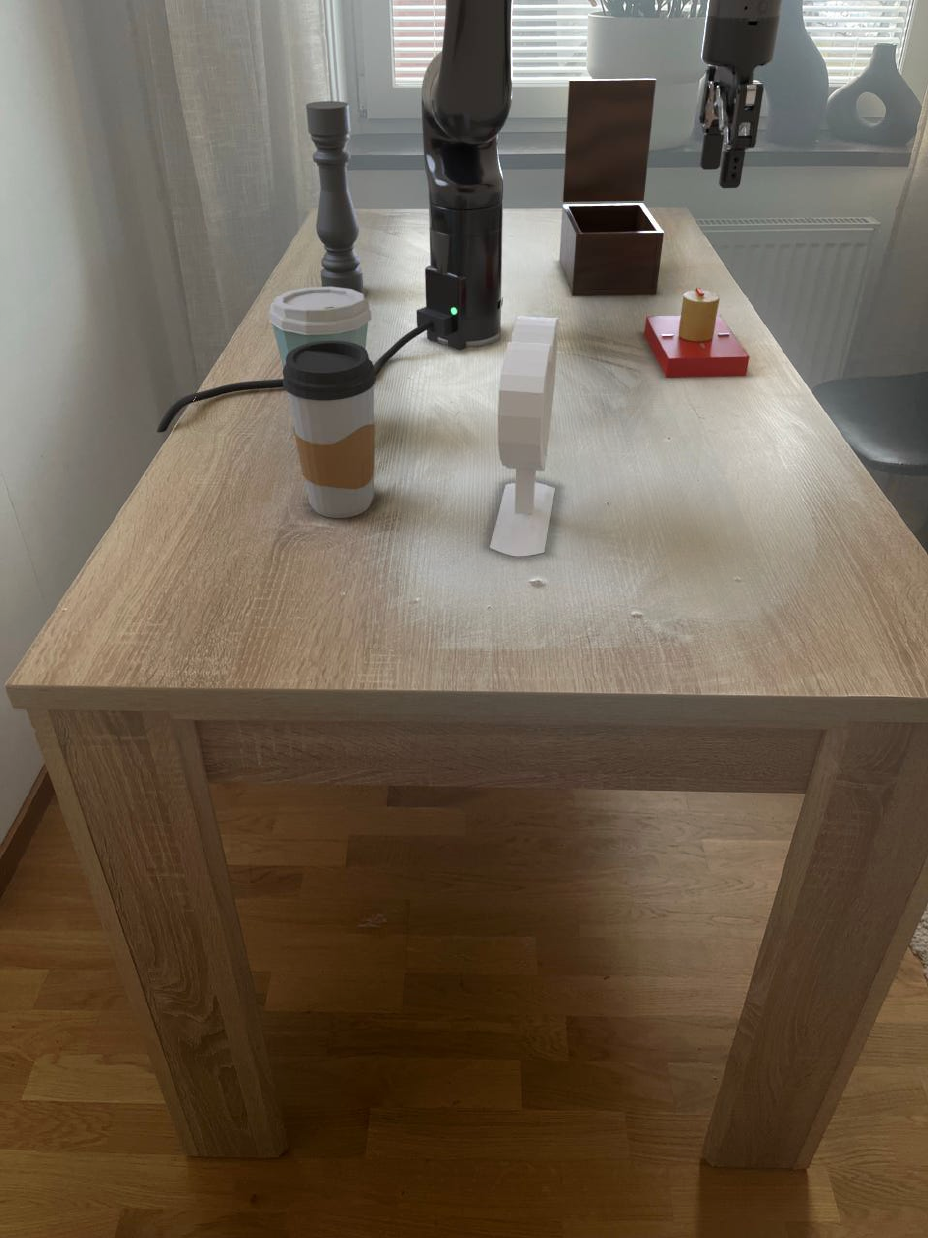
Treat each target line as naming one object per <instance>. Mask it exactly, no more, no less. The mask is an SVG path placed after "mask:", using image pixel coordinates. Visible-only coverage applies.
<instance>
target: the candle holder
mask: <svg viewBox="0 0 928 1238" xmlns="http://www.w3.org/2000/svg"><path fill="white" fill-rule="evenodd" d="M305 109H306V110H305V111H306V119H307V130H308V134H310V138H311V141H312V142H313V143H314V147H315V148H316V150H315V152H314V153H313V154H312V160H313V162H314V163H315V164H316V166H317V167H318V175H319V186H320V191H319V197H318V208H317V217H316V225H315V229H316V234H317V236H318V238H319V240H320V242H321V243H322V244H323V248H324V249H323V250H325V251H326V252H325V253H324V254H323V257H322V258H321V260H320V263H321V267H322V269H321V270H320V280H321V287H338V288H346V289H352V290H355V291H357V292H360V293H362V294H364V295H365V289H364V288H365V287H364V275H363V268H361V267H360V266H359V265H360V264H361V260H360V257H359V256H358V255H357V253H356V252H355V250H354V248H355V242H356V241H357V239H358V237H359V234H360V224H359V221H358V218H357V214H356V211H355V208H354V205H353V200H352V197H351V194H350V190H349V184H348V183H349V181H348V169H347V166H348V162H350V161H351V158H352V157H351V153H350V152H349V151H348V150H346V146H347V143H348V141H349V139H350V135H349V133H350V132H351V120H350V119H351V118H350V105H349V103H348V102H345V101H338V100H323V101H321V100H320V101H314V102H309V103H307V104H305Z"/></svg>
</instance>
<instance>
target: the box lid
mask: <svg viewBox="0 0 928 1238" xmlns="http://www.w3.org/2000/svg"><path fill="white" fill-rule="evenodd" d="M656 89H657V79H656V78H614V79H611V78H610V79H609V78H608V79H569V80H568V91H567V110H566V112H567V113H566V126H565V127H566V130H565V147H564V150H565V151H564V162H563V182H562V183H563V184H562V185H563V186H562V202H563V203H597V202H599V203H602V202H644V200H645V193H646V184H647V173H648V165H649V164H648V163H649V156H650V155H649V153H650V145H651V144H650V143H651V134H652V127H653V126H652V125H653V116H654V108H655V107H654V106H655V96H656Z"/></svg>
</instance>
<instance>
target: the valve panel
mask: <svg viewBox="0 0 928 1238" xmlns="http://www.w3.org/2000/svg"><path fill="white" fill-rule="evenodd" d="M680 317H681V315H659V316H658V315H657V316H655V315H653V316H645V323H644V329H643V330H644V331H643V336H644V337H645V339H646V342H647V343H648V345H649V347H650V349H651V351H652V353H653V355H654V357H655V359H656V361H657V363H658V365H659V367H660V369H661V371H662V373H663V375H664V377H665V378H701V377H703V378H704V377H745V376H747V372H748V368H749V362H750V358H751V357H750V355H749V354H748V352H747V351H746V349H745V348H744V347H743V345H742V343H741V342H740V341H739V339H738V338H737V337H736V336H735V333H734V332H733V331H732V330H731V328H730V327H729V326H728V324H727V323H726V321H725V320H724V319H723V317H722V316H721V315H720V314H717V317H716V323H715V329H714V335H713V338H712V339H710V340H708V341H701V342H696V341H689V340H685V339H683V338H681V337H680V336H679V335H678V331H679V324H680Z"/></svg>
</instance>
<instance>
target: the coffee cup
mask: <svg viewBox="0 0 928 1238" xmlns="http://www.w3.org/2000/svg"><path fill="white" fill-rule="evenodd" d="M282 377H283V378H282V379H283V386H284V387H283V389H284V390H285V391H286V394H287V399H288V404H289V409H290V414H291V419H292V425H293V426H292V430H293V435H294V439H295V444H296V449H297V453H298V459H299V463H300V468H301V469H300V470H301V473H302V476H303V478H304V484H305V488H306V494H307V498H308V503H309V504H310V506H311V507H312V509H313V510H314V511H315V512H316V513H317V514H319V515H321V516H323V517H326V518H332V519H344V518H345V519H346V518H351V517H355V516H358V515H361V514H363V513H365V511H367V510H368V509H369V507H370V506H371V504H372V501H374V496H375V468H376V464H375V462H376V461H375V460H376V453H375V452H376V449H375V448H376V445H375V444H376V435H375V434H376V423H375V384H376V380H377V377H376V375H375V374H374V364H373V361H372V360H371V359H370V357H369V353H368V350H367V349H364V348H363V347H362V346H360V345H357V344H354V343H350V342H345V341H318V342H313V343H308V344H305V345H302V346H299V347H297V348H295V349H293V350H292V351H290V352H289V353H288V354H287V357H286V365H285V366H284V368H283V367H282Z"/></svg>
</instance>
